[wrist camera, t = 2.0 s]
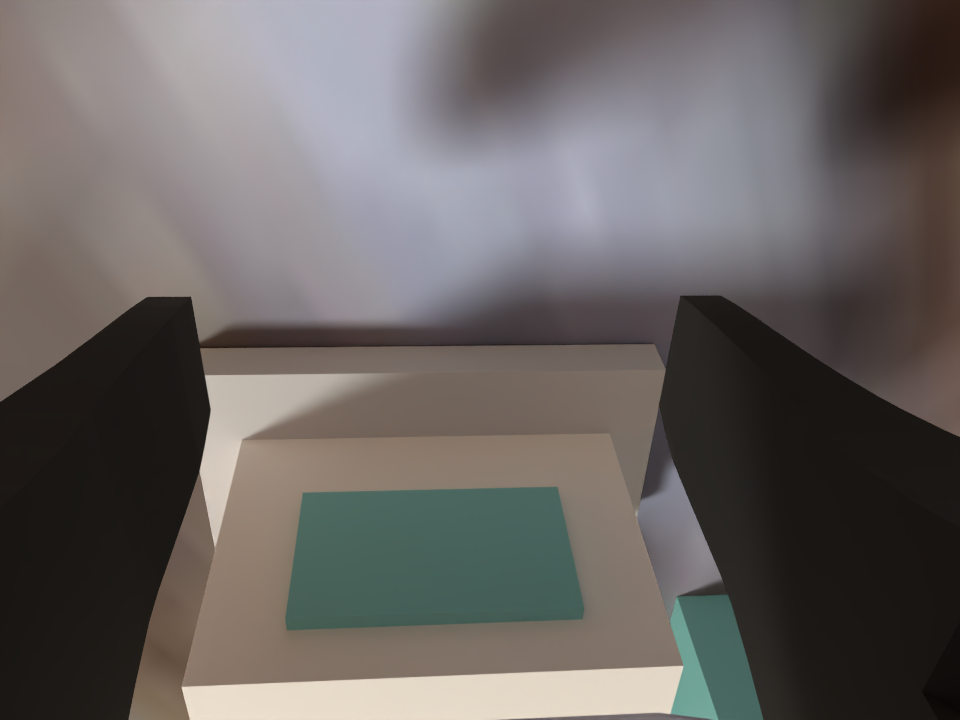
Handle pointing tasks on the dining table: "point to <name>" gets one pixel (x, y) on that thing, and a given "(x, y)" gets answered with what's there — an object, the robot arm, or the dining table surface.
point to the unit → (430, 535)
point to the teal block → (712, 661)
